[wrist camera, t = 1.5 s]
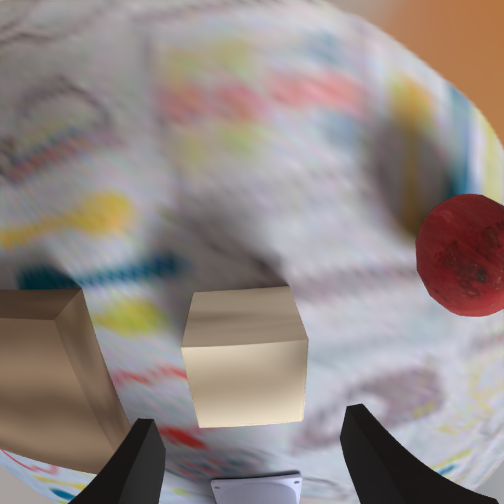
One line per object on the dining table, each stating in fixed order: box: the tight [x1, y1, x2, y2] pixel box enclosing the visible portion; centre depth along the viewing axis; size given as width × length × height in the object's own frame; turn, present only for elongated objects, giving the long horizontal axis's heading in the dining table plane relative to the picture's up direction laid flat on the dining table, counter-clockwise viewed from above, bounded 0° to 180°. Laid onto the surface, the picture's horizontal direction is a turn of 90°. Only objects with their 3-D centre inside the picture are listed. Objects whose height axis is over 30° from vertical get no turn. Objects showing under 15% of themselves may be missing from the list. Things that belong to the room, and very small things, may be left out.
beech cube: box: [181, 286, 308, 428], centre depth 15 cm, size 5×5×5 cm
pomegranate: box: [416, 194, 504, 317], centre depth 13 cm, size 6×6×8 cm
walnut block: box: [0, 288, 131, 475], centre depth 17 cm, size 14×14×4 cm
